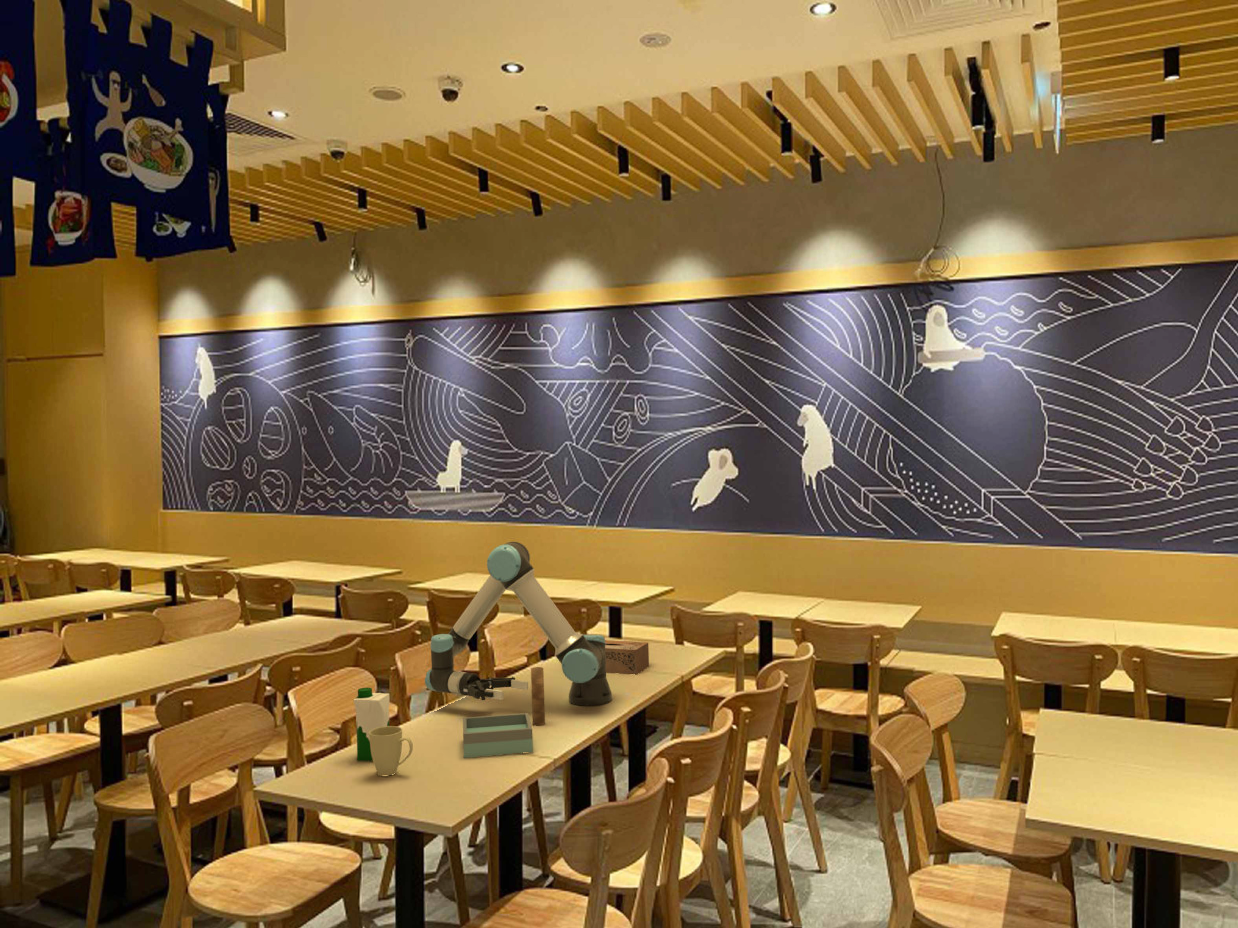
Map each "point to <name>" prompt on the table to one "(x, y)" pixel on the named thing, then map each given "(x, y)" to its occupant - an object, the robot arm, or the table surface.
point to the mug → (387, 748)
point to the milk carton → (369, 718)
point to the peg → (538, 696)
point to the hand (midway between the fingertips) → (515, 690)
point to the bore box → (497, 735)
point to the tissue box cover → (626, 657)
